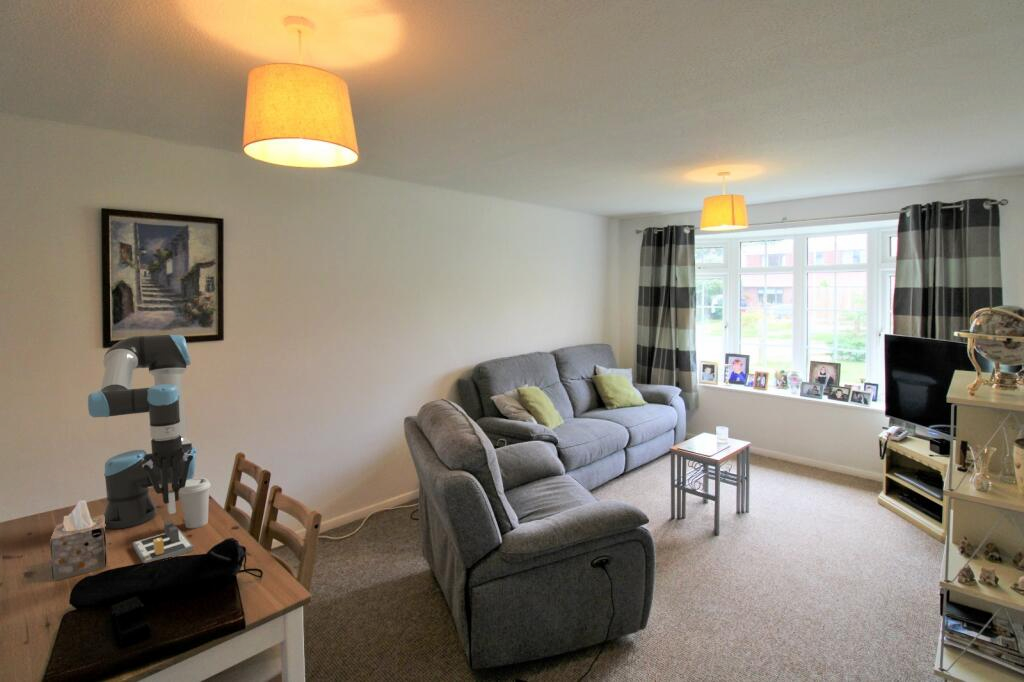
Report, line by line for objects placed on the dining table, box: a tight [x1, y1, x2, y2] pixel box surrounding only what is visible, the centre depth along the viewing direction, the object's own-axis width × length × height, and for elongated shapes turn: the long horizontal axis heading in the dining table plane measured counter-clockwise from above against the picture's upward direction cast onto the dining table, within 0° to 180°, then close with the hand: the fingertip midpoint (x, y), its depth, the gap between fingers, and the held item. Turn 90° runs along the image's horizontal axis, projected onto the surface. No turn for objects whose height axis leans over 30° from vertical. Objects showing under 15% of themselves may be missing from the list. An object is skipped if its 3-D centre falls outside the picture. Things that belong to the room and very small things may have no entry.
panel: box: [132, 520, 194, 564], centre depth 158 cm, size 16×12×6 cm
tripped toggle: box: [153, 537, 164, 555], centre depth 153 cm, size 2×2×4 cm
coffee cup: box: [178, 477, 212, 529], centre depth 174 cm, size 10×10×15 cm
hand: (171, 512), depth 155 cm, fingers closed
